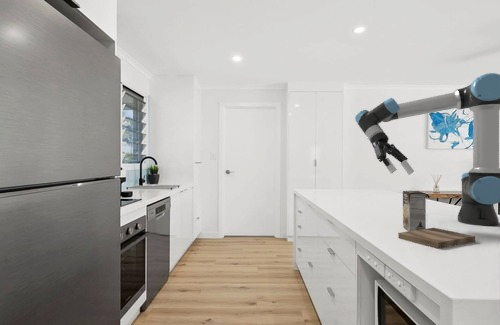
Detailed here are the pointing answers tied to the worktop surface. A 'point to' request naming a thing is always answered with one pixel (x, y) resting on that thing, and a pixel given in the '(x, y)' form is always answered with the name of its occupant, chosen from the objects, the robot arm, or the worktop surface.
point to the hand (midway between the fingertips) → (402, 172)
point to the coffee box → (414, 210)
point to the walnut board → (436, 237)
